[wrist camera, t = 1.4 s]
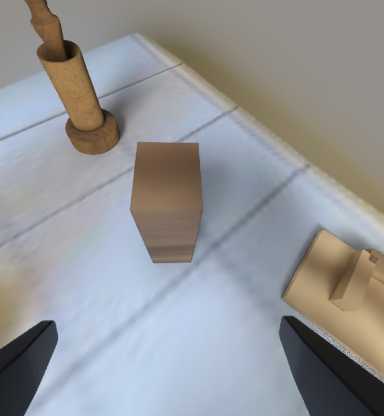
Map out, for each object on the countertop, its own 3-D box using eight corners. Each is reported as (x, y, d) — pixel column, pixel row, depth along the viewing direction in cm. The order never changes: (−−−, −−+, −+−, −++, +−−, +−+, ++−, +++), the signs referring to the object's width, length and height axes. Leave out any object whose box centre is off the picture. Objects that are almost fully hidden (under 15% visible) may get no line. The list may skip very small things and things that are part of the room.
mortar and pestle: (117, 154, 29) (45, -43, 13) (68, 155, 29) (-70, -50, 13) (121, 120, 32) (66, -74, 16) (76, 120, 32) (-26, -81, 16)
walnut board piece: (190, 262, 23) (202, 209, 12) (153, 263, 23) (129, 210, 12) (189, 219, 25) (198, 143, 14) (155, 220, 25) (137, 142, 14)
